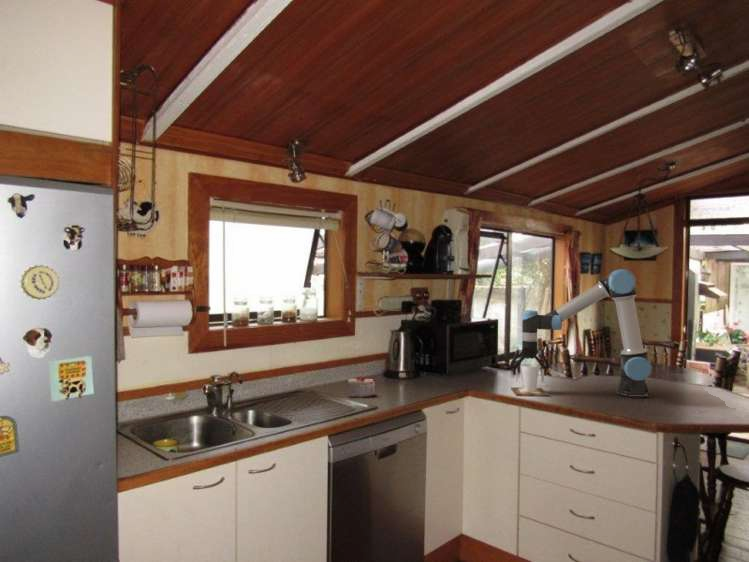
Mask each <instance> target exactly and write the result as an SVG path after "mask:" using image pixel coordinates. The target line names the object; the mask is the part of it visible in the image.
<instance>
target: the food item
mask: <svg viewBox="0 0 749 562" xmlns="http://www.w3.org/2000/svg"><path fill="white" fill-rule="evenodd" d="M346 382H347V387H346V396H347V397H348V398H356V397H357V398H364V397H372V396H374V394H375V391H376V390H375V389H376V388H375V386H376V385H375V381H374V379H372V378H365V377H364V376H361V375H359V376H357V378H349V379H347V381H346Z"/></svg>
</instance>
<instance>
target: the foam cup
mask: <svg viewBox="0 0 749 562" xmlns="http://www.w3.org/2000/svg"><path fill="white" fill-rule="evenodd" d="M519 370H520V375H521V383H522V388H523V390H524V391H528V392H534V391H536V388H537V385H538V377H539V371H540V364H534V363H522V364H521V363H520V364H519Z"/></svg>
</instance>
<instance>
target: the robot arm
mask: <svg viewBox="0 0 749 562" xmlns="http://www.w3.org/2000/svg"><path fill="white" fill-rule="evenodd" d="M636 283H637V278H636V277H635V275H634V273H632V272H631V271H630V270H628V269H624V268H619V269H615V270H613V271H611V272H609V274H607V275H605V277H603V278H602V279H600V280H599V281H598V282H597V284H595V285H594V286H592V287H591V288H589V289H587V290H585V291H584V292H582V293H580V294H578V295H576V296H575V297H573V298H572V299H570V300H569V301H567V302H565V303H564V304H562V305H559V306H558V307H556V308H555V309H553V310H551V311H549V312H548V313H546V314H539V313H538V311H537V310H524V311H522V319H521V321H522V322H521V323H522V324H521V325H522V327H521V328H522V329H521V330H522V333H521V335H522V336H521V339H522V341H521V349H515V353H514V355H513V357H512V360H511V361H510V363H509V366H508V367H510V368H512V374H513V376H514V381H515V382H517V383H518V367H519V366H520V365H521V363H522V362H523V361H524V360H525V359H535V360H536V361H537V363H538V365H539V366H541V372H540V373H541V376H540V377H541V378H540V379H541V380H540V381H541V382H542V383H545V376H547V369H550V368H551V367H550V364H549V362H548V359H547V358H546V356H545V352H544V349H540V350H538V330H547V331H549V330H550V331H561V330H562V329H563V322H564V321H567V320H569V319H570V318H571V317H573V316H575V315H576V314H579V313H580V312H582V311H584V310H585V309H587V308H589V307H590V306H592V305H594V304H596V303H597V302H599V301H601V300H603V299H605V298H607V297H608V298H611V300H613V301H614V302H615V308H616V309H615V310H616V312H617V313H616V314H617V318H618V319H617V320H618V324H619V325H618V326H619V329H620V330H619V331H620V335H621V341H622V346H623V349H622V350H620V354H619V355H620V362H619V365H620V369H619V371H620V373H619V374H620V375H619V377H620V378H619V381H618V385H617V387H616V391H617V392H619V393H617V392H615V393H616V394H617V395H618V396H621V397H626V398H633V399H634V398H635V399H637V398H638V399H644V397H646V398H649V397H650V390H649V388H648V384H647V382H646V379H648V378H649V377H650V376H651V373H652V371H653V367H652V364H651V362H650V359H649V354H648V350H647V349H646V348H644V345H643V339H642V336H641V335H642V334H641V329H640V324H639V318H638V313H637V306H636V303H635V298H636V297H637V295H638V294H637V287H636ZM520 354H522V355H521V356H520V358H519V359H518V357H519V355H520ZM538 354H539V355H540V356H541V358H542V360H543V362H544V363H543V362H542V361H541V360H540V358H539V357H538V356H537V355H538ZM517 359H518V360H517ZM620 393H623V394H627V395H623V394H620ZM648 393H649V395H648V396H649V397H648V396H629V395H645V394H648Z"/></svg>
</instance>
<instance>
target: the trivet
mask: <svg viewBox="0 0 749 562" xmlns="http://www.w3.org/2000/svg"><path fill="white" fill-rule="evenodd" d="M510 390H511V391H512V393H513V394H514V395H515V396H516V397H542V398H543V397H544V398H547V397H548V398H549V397H550V394H549V393H548V392H546V391H545V390H544V389H543V388H542V387H536V391H534V392H528V391H524V390H523V387H522V386H521V387H516V386H515V387H512V386H511V387H510Z"/></svg>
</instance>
